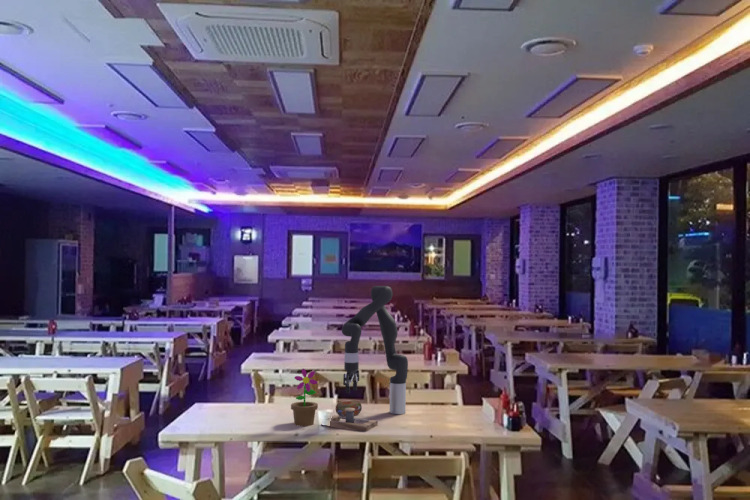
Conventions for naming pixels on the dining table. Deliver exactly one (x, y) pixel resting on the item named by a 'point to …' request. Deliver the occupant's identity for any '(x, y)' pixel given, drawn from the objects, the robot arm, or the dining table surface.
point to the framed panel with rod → (353, 424)
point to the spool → (349, 415)
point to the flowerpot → (304, 410)
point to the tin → (348, 404)
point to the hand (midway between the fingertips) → (351, 391)
